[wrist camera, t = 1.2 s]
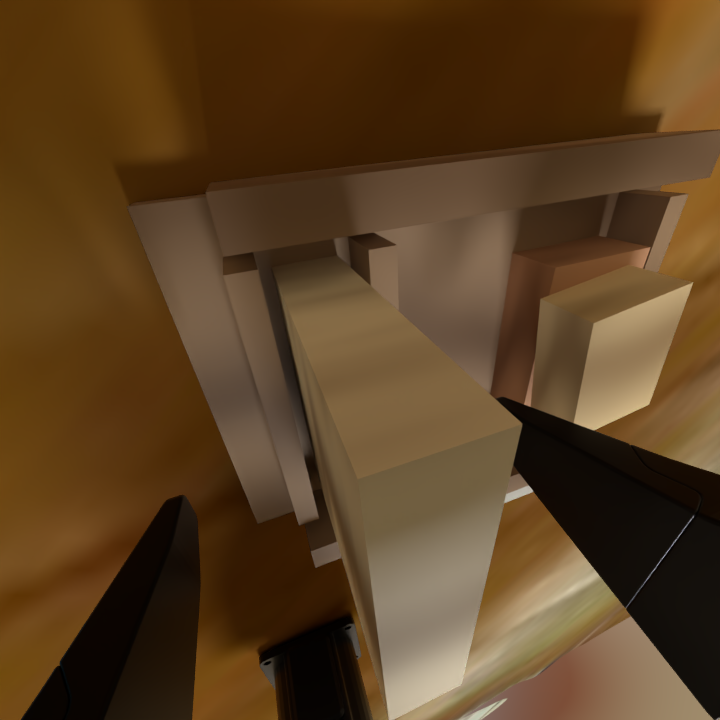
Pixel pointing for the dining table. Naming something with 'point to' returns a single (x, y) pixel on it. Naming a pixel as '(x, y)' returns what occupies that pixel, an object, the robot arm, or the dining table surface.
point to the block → (398, 473)
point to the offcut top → (605, 344)
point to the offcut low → (540, 279)
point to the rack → (387, 270)
